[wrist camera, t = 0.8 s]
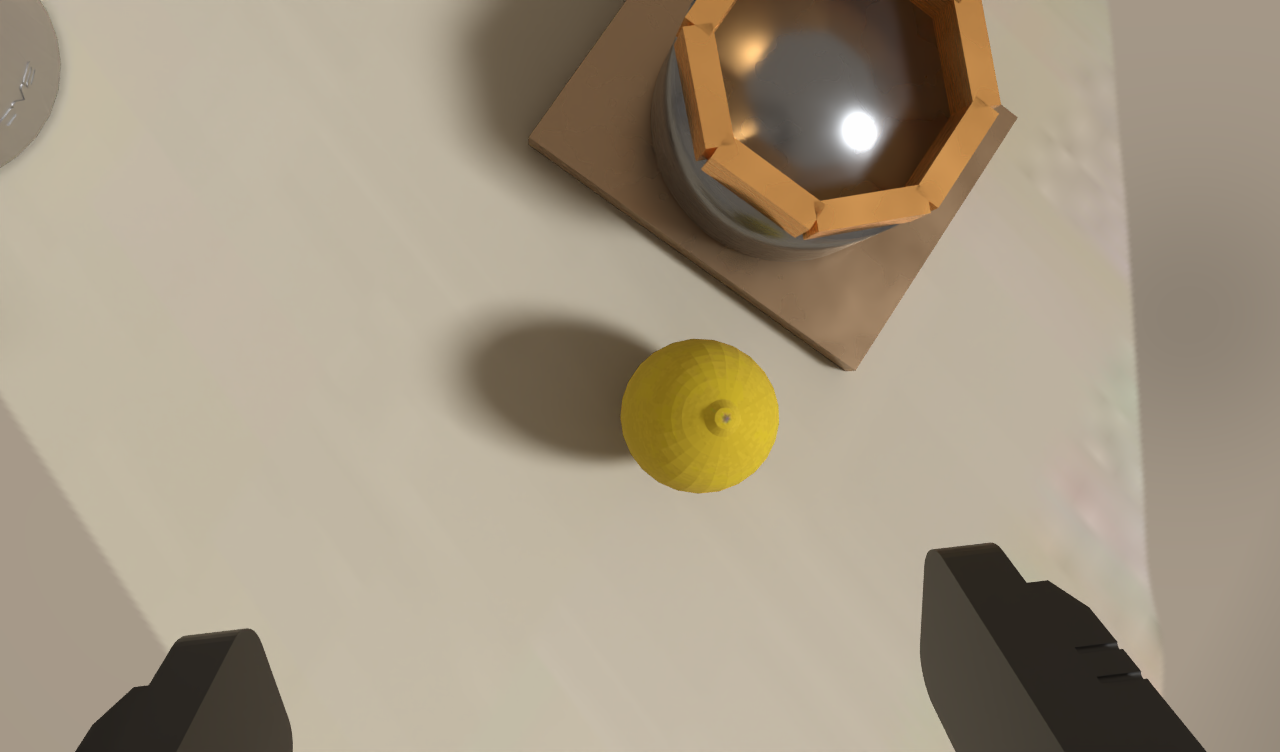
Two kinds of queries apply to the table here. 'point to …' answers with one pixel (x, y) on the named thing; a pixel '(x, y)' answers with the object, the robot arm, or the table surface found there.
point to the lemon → (699, 416)
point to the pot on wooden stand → (788, 144)
